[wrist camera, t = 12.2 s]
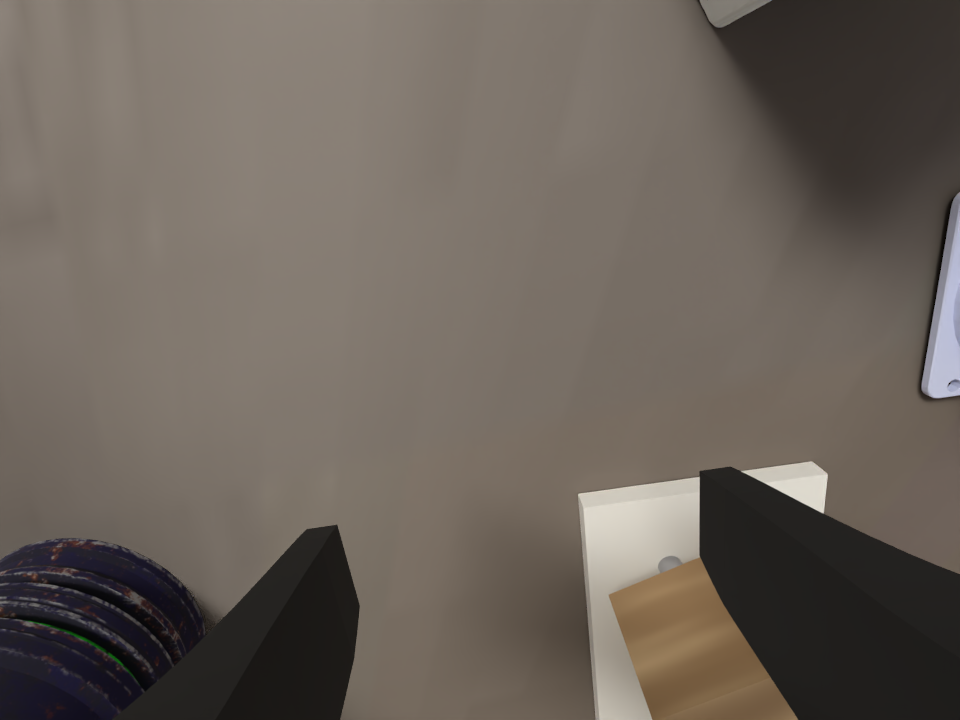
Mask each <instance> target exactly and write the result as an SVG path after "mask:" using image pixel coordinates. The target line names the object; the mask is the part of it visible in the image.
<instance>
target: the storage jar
mask: <svg viewBox="0 0 960 720" xmlns="http://www.w3.org/2000/svg"><path fill="white" fill-rule="evenodd" d="M205 636H206V631H205V626H204V621H203V617H202V615H201V613H200V610H199V608H198V605H197V604H196V602H195V601H194V599H193V597H192V596H191V594H190V593H189V592H188V591H187V589H186V588H185V587H184V586H183V585H182V584H181V582H180V581H179V580H177V579H176V578H175V577H174V576H173V575H172V574H171V573H169V572H168V571H167V570H166V569H164V568H163V567H161V566H160V565H158V564H157V563H155V562H154V561H152V560H151V559H149V558H146V557H144V556H142V555H140V554H138V553H136V552H134V551H132V550H129V549H126V548H123V547H120V546H118V545H114V544H110V543H106V542H101V541H97V540H88V539H79V538H71V539H53V540H46V541H40V542H37V543H33V544H30V545H27V546H24V547H22V548H20V549H17V550H15V551H13V552H11V553H9V554H8V555H7V556H5V557H4V558H2V559H1V560H0V720H112V719H114V718H115V717H116V716H117V715H118V714H120V713H121V712H122V711H123V710H124V709H126V708H127V707H128V706H129V705H130V704H131V703H133V702H134V701H135V700H136V699H137V698H138V697H140V696H141V695H142V694H143V693H144V692H145V691H147V690H148V689H149V688H150V687H151V686H152V685H154V684H155V683H156V682H157V681H158V680H159V679H160V678H162V677H163V676H164V675H165V674H166V673H167V672H168V671H169V670H170V669H171V668H173V667H174V666H175V665H176V664H177V663H178V662H179V661H180V660H181V659H182V658H183V657H184V656H186V655H187V654H188V653H189V652H190V651H191V650H192V649H193V648H194V647H195V646H196V645H197V644H198V643H199V642H200V641H201V640H202V639H203V638H204V637H205Z"/></svg>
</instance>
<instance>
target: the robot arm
mask: <svg viewBox="0 0 960 720" xmlns="http://www.w3.org/2000/svg"><path fill="white" fill-rule="evenodd" d="M950 382H951V384H950V385H949V386H948V384H949V383H950ZM947 386H948V387H947ZM921 387H922V391H923V393H924V394H926V395H928V396H930V397H932V398H944V397H952V396H959V395H960V193H958V194H957V195H956V197H955V198H954V200H953V202H952V206H951V212H950V218H949V224H948V230H947V236H946V242H945V248H944V254H943V260H942V266H941V272H940V278H939V284H938V290H937V296H936V301H935V307H934V313H933V319H932V325H931V331H930V337H929V343H928V349H927V355H926V361H925V367H924V373H923V379H922V385H921ZM699 556H700V558H701V560H702V562H703V564H704V566H705V569H706V571H707V573H708V575H709V577H710V579H711V581H712V583H713V585H714V587H715V589H716V591H717V593H718V595H719V597H720V599H721V601H722V603H723V605H724V606H725V608H726V609H727V611H728V613H729V614H730V616H731V617H732V619H733V620H734V622H735V624H736V625H737V627H738V628H739V630H740V631H741V633H742V634H743V636H744V638H745V639H746V641H747V642H748V644H749V645H750V647H751V648H752V650H753V651H754V653H755V654H756V656H757V658H758V659H759V661H760V662H761V664H762V665H763V667H764V668H765V670H766V671H767V673H768V674H769V676H770V677H771V679H772V680H773V682H774V683H775V685H776V687H777V688H778V690H779V691H780V693H781V694H782V696H783V697H784V699H785V700H786V702H787V703H788V705H789V706H790V708H791V709H792V711H793V712H794V714H795V716H796V717H797V719H798V720H960V574H958V573H955V572H952V571H950V570H947V569H945V568H942V567H940V566H937V565H934V564H932V563H930V562H927V561H925V560H923V559H920V558H918V557H915V556H913V555H911V554H908V553H906V552H904V551H902V550H899V549H897V548H895V547H893V546H891V545H888V544H886V543H884V542H882V541H880V540H877V539H875V538H873V537H871V536H868V535H866V534H864V533H862V532H860V531H858V530H856V529H854V528H852V527H850V526H847V525H845V524H843V523H841V522H839V521H837V520H835V519H833V518H831V517H829V516H827V515H825V514H823V513H821V512H819V511H817V510H815V509H813V508H811V507H809V506H807V505H806V504H804V503H802V502H800V501H798V500H796V499H794V498H792V497H790V496H788V495H786V494H784V493H782V492H781V491H779V490H777V489H775V488H773V487H771V486H769V485H767V484H765V483H763V482H761V481H759V480H757V479H755V478H753V477H751V476H749V475H747V474H745V473H743V472H741V471H739V470H737V469H735V468H732V467H725V468H718V469H711V470H704V471H700V512H699ZM359 608H360V605H359V602H358V598H357V594H356V591H355V587H354V584H353V580H352V576H351V573H350V569H349V566H348V562H347V558H346V555H345V551H344V548H343V544H342V540H341V537H340V533H339V530H338V526H337V525H333V526H326V527H319V528H312V529H307V530H306V531H305V532H304V533H303V534H302V535H301V536H300V537H299V538H298V539H297V540H296V541H295V542H294V543H293V544H292V545H291V546H290V547H289V548H288V549H287V551H286V552H285V553H284V554H283V555H282V556H281V557H280V558H279V559H278V560H277V562H276V563H275V564H274V565H273V566H272V567H271V568H270V569H269V570H268V571H267V573H266V574H265V575H264V576H263V577H262V578H261V579H260V580H259V581H258V582H257V583H256V584H255V585H254V587H253V588H252V589H251V590H250V591H249V592H248V593H247V594H246V595H245V596H244V597H243V598H242V599H241V601H240V602H239V603H238V604H237V605H236V606H235V607H234V608H233V609H232V610H231V611H230V612H229V613H228V614H227V615H226V616H225V617H224V618H223V619H222V620H221V621H220V622H219V623H218V624H217V625H216V626H215V627H214V628H213V629H212V630H211V631H210V632H209V633H208V634H207V635H206V636H205V637H204V638H203V639H202V640H201V641H200V642H199V643H198V644H197V645H196V646H195V647H194V648H193V649H192V650H191V651H190V652H189V653H188V654H187V655H186V656H184V657H183V658H182V659H181V660H180V661H179V662H178V663H177V664H176V665H175V666H174V667H173V668H171V669H170V670H169V671H168V672H167V673H166V674H165V675H164V676H163V677H162V678H160V679H159V680H158V681H157V682H156V683H155V684H154V685H152V686H151V687H150V688H149V689H148V690H147V691H145V692H144V693H143V694H142V695H141V696H140V697H138V698H137V699H136V700H135V701H134V702H133V703H131V704H130V705H129V706H128V707H127V708H126V709H124V710H123V711H122V712H121V713H120V714H118V715H117V716H116V717H115V718H114V719H112V720H340V717H341V713H342V709H343V705H344V700H345V696H346V692H347V687H348V683H349V678H350V674H351V670H352V665H353V660H354V654H355V646H356V637H357V628H358V618H359Z"/></svg>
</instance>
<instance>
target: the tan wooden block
mask: <svg viewBox="0 0 960 720" xmlns="http://www.w3.org/2000/svg"><path fill="white" fill-rule="evenodd" d="M609 598H610V601H611V604H612V607H613V610H614V612H615V615H616V618H617V621H618V624H619V627H620V629H621V632H622V635H623V638H624V641H625V644H626V646H627V649H628V652H629V655H630V658H631V661H632V663H633V666H634V669H635V672H636V675H637V678H638V680H639V683H640V686H641V689H642V692H643V695H644V697H645V700H646V703H647V706H648V709H649V712H650V714H651V717H652V720H798V719H797V717H796V716H795V714H794V712H793V711H792V709H791V708H790V706H789V705H788V703H787V702H786V700H785V699H784V697H783V696H782V694H781V693H780V691H779V690H778V688H777V687H776V685H775V683H774V682H773V680H772V679H771V677H770V676H769V674H768V673H767V671H766V670H765V668H764V667H763V665H762V664H761V662H760V661H759V659H758V658H757V656H756V654H755V653H754V651H753V650H752V648H751V647H750V645H749V644H748V642H747V641H746V639H745V638H744V636H743V634H742V633H741V631H740V630H739V628H738V627H737V625H736V624H735V622H734V620H733V619H732V617H731V616H730V614H729V613H728V611H727V609H726V608H725V606H724V605H723V603H722V601H721V599H720V597H719V595H718V593H717V591H716V589H715V587H714V585H713V583H712V581H711V579H710V577H709V575H708V573H707V571H706V569H705V566H704V564H703V562H702V560H701V558H700V557H699V558H697V559H694V560H692V561H689V562H687V563H685V564H682V565H680V566H677V567H675V568H672V569H670V570H668V571H665V572H663V573H660V574H658V575H655V576H653V577H650V578H648V579H646V580H643V581H641V582H638V583H636V584H633V585H631V586H629V587H626V588H624V589H621V590H619V591H616V592H614V593H612V594H609Z"/></svg>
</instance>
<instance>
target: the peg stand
mask: <svg viewBox="0 0 960 720" xmlns="http://www.w3.org/2000/svg"><path fill="white" fill-rule="evenodd" d="M741 472H743V473H745V474H747V475H749V476H751V477H753V478H755V479H757V480H759V481H761V482H763V483H765V484H767V485H769V486H771V487H773V488H775V489H777V490H779V491H781V492H782V493H784V494H786V495H788V496H790V497H792V498H794V499H796V500H798V501H800V502H802V503H804V504H806V505H807V506H809V507H811V508H813V509H815V510H817V511H819V512H821V513H823V514H824V505H825V496H826V486H827V477H828V474H827V473H826V472H825V471H823V470H822V469H821V468H820V467H818V466H817V465H816V464H815V463H813V462H812V461H811V462H804V463H797V464H790V465H782V466H775V467H768V468H761V469H753V470H746V471H741ZM578 501H579V513H580V526H581V539H582V552H583V564H584V577H585V590H586V603H587V615H588V628H589V641H590V654H591V666H592V679H593V692H594V705H595V717H596V720H652V717H651V714H650V712H649V709H648V706H647V703H646V700H645V697H644V695H643V692H642V689H641V686H640V683H639V680H638V678H637V675H636V672H635V669H634V666H633V663H632V661H631V658H630V655H629V652H628V649H627V646H626V644H625V641H624V638H623V635H622V632H621V629H620V627H619V624H618V621H617V618H616V615H615V612H614V610H613V607H612V604H611V601H610V598H609V594H612V593H614V592H616V591H619V590H621V589H624V588H626V587H629V586H631V585H633V584H636V583H638V582H641V581H643V580H646V579H648V578H650V577H653V576H655V575H658V574H660V573H663V572H665V571H668V570H670V569H672V568H675V567H677V566H680V565H682V564H685V563H687V562H689V561H692V560H694V559H697V558H699V557H700V556H699V512H700V477H696V478H689V479H681V480H674V481H667V482H660V483H653V484H645V485H638V486H631V487H624V488H617V489H609V490H602V491H595V492H588V493H580V494H578Z"/></svg>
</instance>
